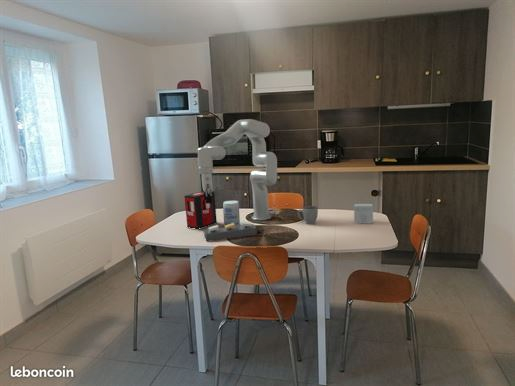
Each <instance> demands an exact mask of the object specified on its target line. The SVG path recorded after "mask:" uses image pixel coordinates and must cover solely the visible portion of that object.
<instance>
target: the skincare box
mask: <svg viewBox="0 0 515 386" xmlns="http://www.w3.org/2000/svg"><path fill="white" fill-rule="evenodd" d="M353 209H354V210H353V213H354V214H353V215H354V218H353V219H354V220H353V221H354V224H355V223H358V224H361V223H368V225H369V223H373V224H374V206H373V203H354V205H353Z"/></svg>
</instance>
